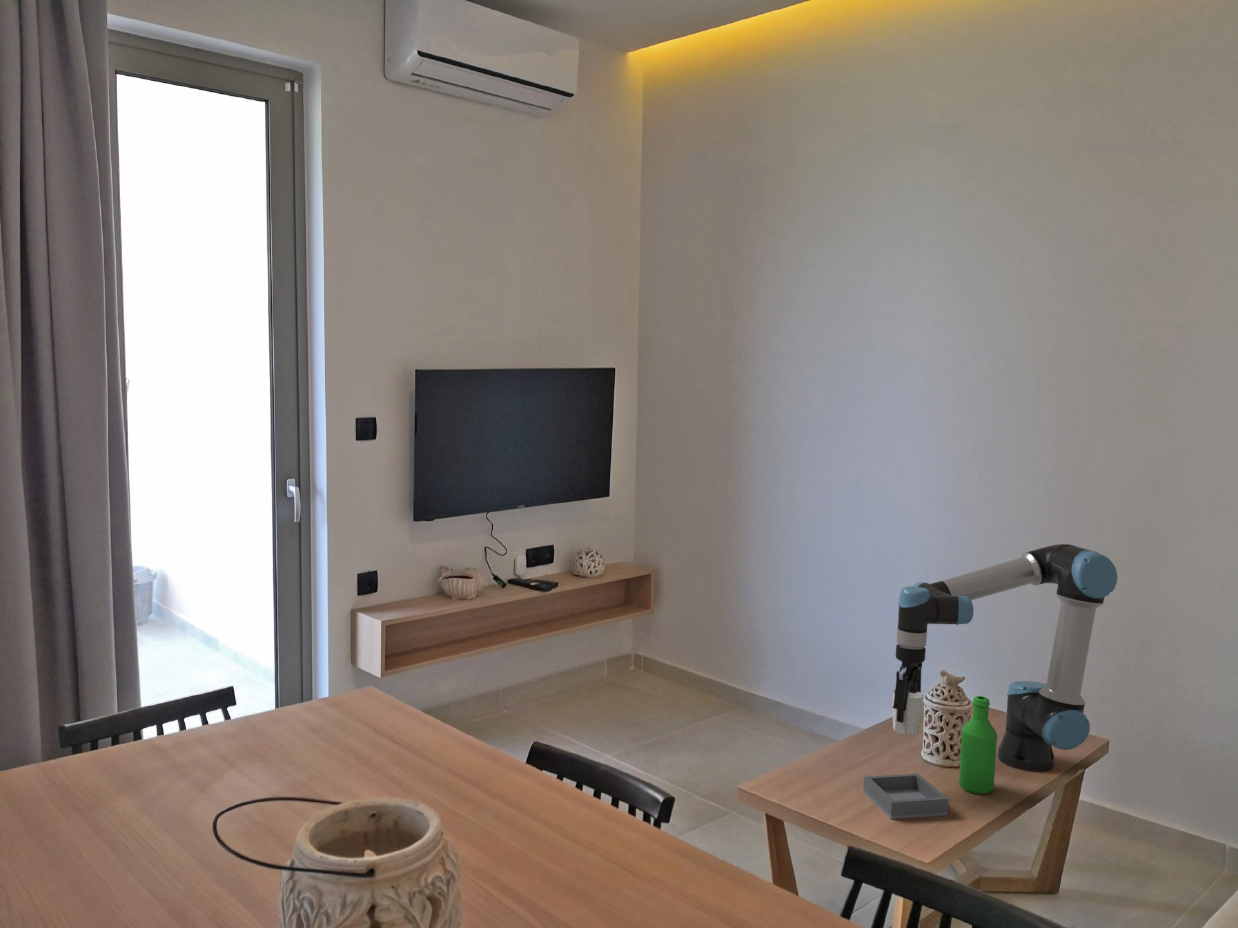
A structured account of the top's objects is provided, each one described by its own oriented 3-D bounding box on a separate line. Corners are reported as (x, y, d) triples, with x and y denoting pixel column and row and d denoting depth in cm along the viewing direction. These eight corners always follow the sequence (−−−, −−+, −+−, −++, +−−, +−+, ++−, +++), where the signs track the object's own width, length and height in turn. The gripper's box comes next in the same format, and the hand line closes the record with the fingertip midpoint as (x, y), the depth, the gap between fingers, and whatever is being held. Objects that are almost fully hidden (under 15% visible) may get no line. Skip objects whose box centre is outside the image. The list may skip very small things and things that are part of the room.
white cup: (922, 736, 249) (924, 699, 248) (891, 733, 250) (893, 696, 250) (919, 726, 256) (922, 690, 255) (889, 723, 258) (892, 687, 257)
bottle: (960, 778, 260) (966, 690, 258) (994, 785, 256) (1000, 695, 254) (957, 790, 252) (962, 699, 250) (991, 798, 248) (997, 705, 246)
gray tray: (917, 788, 252) (917, 773, 252) (947, 815, 237) (948, 798, 237) (863, 792, 250) (864, 776, 249) (890, 819, 234) (891, 802, 234)
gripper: (909, 635, 262) (904, 715, 264) (883, 650, 245) (878, 735, 247) (937, 640, 257) (931, 721, 259) (912, 656, 241) (906, 743, 243)
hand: (905, 728), depth 253 cm, fingers closed on white cup, 7 cm apart
